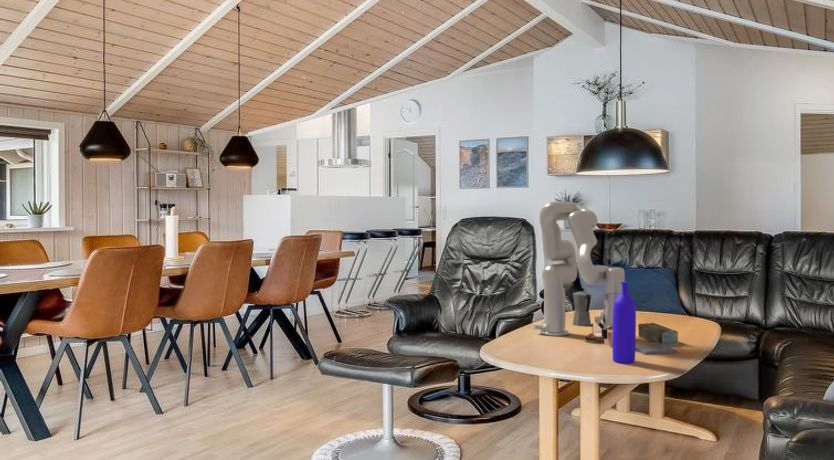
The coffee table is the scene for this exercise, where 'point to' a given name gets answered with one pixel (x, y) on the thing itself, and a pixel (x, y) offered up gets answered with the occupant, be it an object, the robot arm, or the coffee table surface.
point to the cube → (609, 338)
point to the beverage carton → (658, 334)
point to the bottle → (624, 327)
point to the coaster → (654, 348)
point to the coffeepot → (582, 308)
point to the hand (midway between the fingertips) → (615, 338)
